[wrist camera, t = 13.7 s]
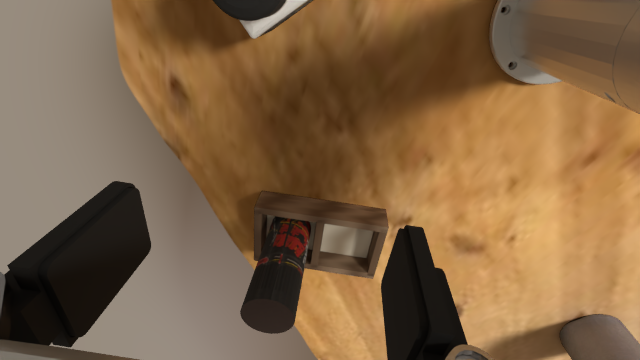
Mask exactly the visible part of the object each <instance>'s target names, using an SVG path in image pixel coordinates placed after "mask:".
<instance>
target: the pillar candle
mask: <svg viewBox="0 0 640 360" xmlns="http://www.w3.org/2000/svg"><path fill="white" fill-rule="evenodd" d="M560 340H561V342H562V345H563V346H564V348H565V349H566V351H567V353H568V354H569V356H570V357H571V359H572V360H640V344H639V343H638V341H637V340H636V339H635V338H634V337H633V335H632V334H631V333H630V332H629V331H628V329H627V328H626V327H625V326H624V324H623V323H622V322H621V321H620V320H619V319H617V318H615V317H613V316H610V315H603V314H598V315H595V314H594V315H588V316H585V317H583V318H581V319H578V320H575V321H573V322H570V323H568V324H567V325H565V326H564V327H563V329H562V330H561V332H560Z"/></svg>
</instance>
